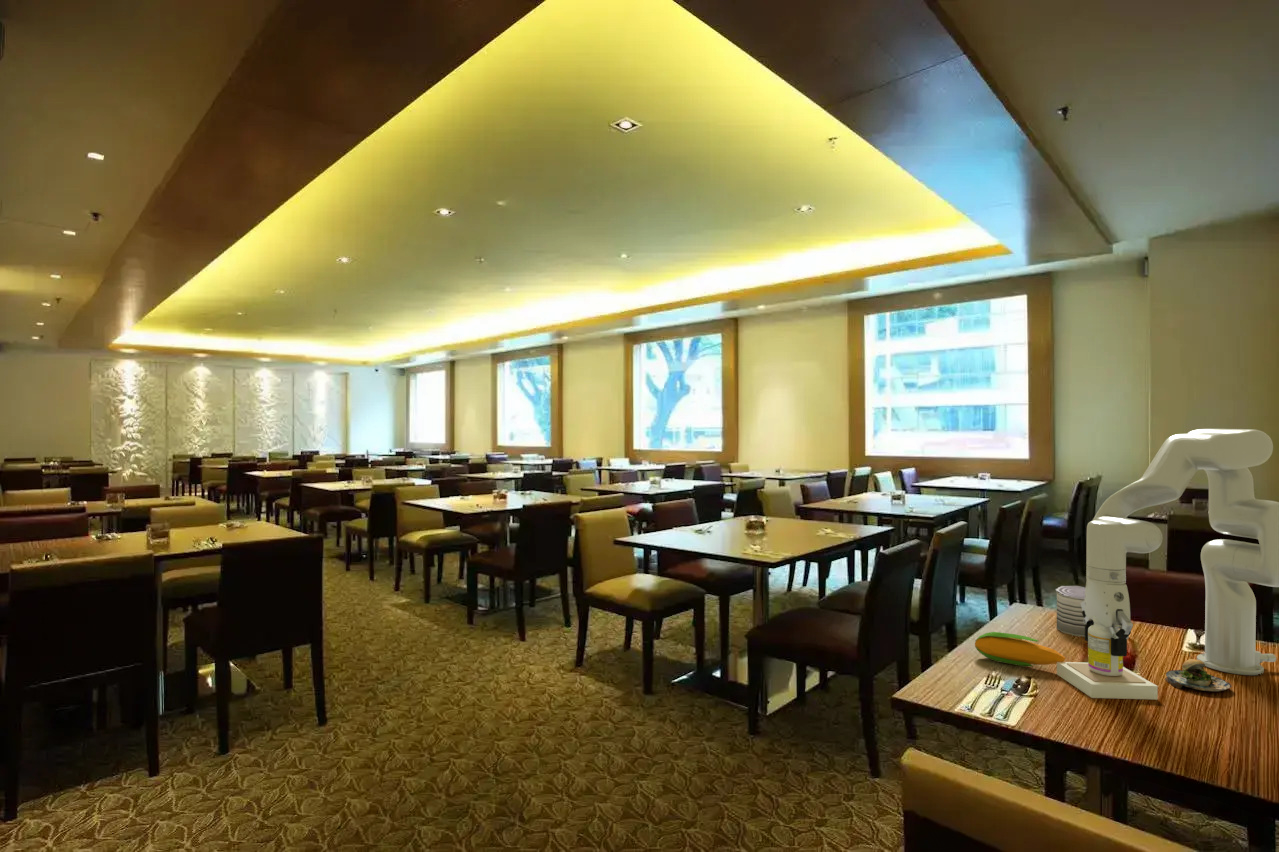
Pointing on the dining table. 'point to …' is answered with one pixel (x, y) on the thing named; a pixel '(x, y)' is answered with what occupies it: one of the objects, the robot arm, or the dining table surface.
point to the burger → (1195, 677)
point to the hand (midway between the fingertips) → (1105, 648)
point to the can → (1070, 610)
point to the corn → (1016, 650)
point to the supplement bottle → (1102, 651)
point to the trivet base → (1107, 682)
